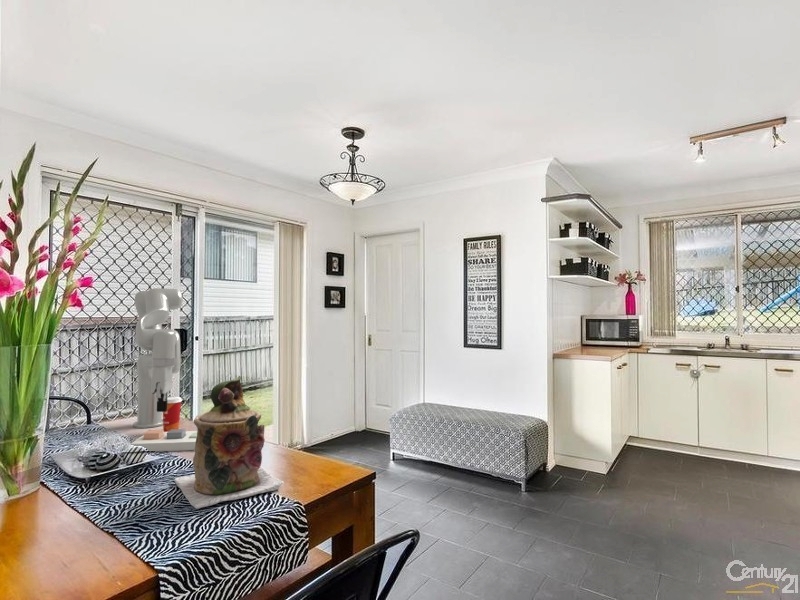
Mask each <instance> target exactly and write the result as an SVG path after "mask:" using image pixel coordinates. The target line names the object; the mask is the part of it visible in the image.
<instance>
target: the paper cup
mask: <svg viewBox="0 0 800 600" xmlns="http://www.w3.org/2000/svg"><path fill="white" fill-rule="evenodd" d="M182 402H183V400H182V397H180V396H171V397H170V396H168V399H167V411H165V412H162V419H163V425H162V427H163V429H162V430H164V432H169V431H170V430H171V429H180V428H179V427H180V419H181V407H182Z"/></svg>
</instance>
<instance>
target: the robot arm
mask: <svg viewBox="0 0 800 600" xmlns="http://www.w3.org/2000/svg"><path fill="white" fill-rule="evenodd" d="M182 304H183V295H182V292H181V291H180V290H179V289H177V288H161V287H160V288H159V287H157V288H156V287H155V288H151V289H150V288H149V290H140V291H138V292H136V294H135V295H134V307H135V310H136V313H137V315H138V320H137V323H136V326H135V342H136V345H137V346H138V348H140V349H142V350H143V351H147V352H152V353H145V354H142V355H140V356H138V358H137V359H136V370H137V379H138V380H137V383H138V384H137V388H138V389H137V416H136V417H137V421H134V422H133V423H132V427H133V428H136V429H147V428H148V429H149V428H150V429H151V428H156V427H161V426H163V412H165V411H167V399H168V397H169V392H170V391H172V388H173V375H174V374H177V373H179V372H180V370H181V365H182V364H181V363H182V361H181V360H182V359H181V337H180V334H179V332H178V331H177V330H175V329H172V328H171V329H170V328H163V329H162V327H163V326H162V324H163V323H164V322H166V321H167V320H168V319H169V317H170V314H171V313H170V310H171V311H172V310H174V311H175V310H177V309H180V308H181V307H182Z"/></svg>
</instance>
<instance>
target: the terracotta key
mask: <svg viewBox="0 0 800 600" xmlns="http://www.w3.org/2000/svg"><path fill="white" fill-rule="evenodd" d="M143 435H144V440H154V439H160V438H161V437H163V435H164V430H163V429H148V430H147V431H146V432H144V433H143Z"/></svg>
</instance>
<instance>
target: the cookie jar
mask: <svg viewBox="0 0 800 600" xmlns="http://www.w3.org/2000/svg"><path fill="white" fill-rule="evenodd" d="M241 380H242V375H241V374H240V375H239V376H238V377H237V378H236V379H230V380H225V381H222V382H219V383H218V384H216V385H214V387H213V388H212V389H211V392H210V399H211V402H212V403H213V407H212V408H211V409H210V410H209V411H207V412H203V413H200V414H198V415H196V416H195V418H194V420H193V424H194V426H196V429H197V430H196V431H197V438H196V443H195V450H194V456H193V459H192V466H193V470H194V474H191V475H185V476H180V477H174V483H175V484H176V486H177V488H179V489H180V490H181V492H182V494H183V495H184V497H185V498H186V500H187V501H188V503H189V504H190V505H191V506H192V507H193V508H194V509H196V510H199V509H201V508H205V507H206V508H207V507H210V506H213V505H217V504H218V503H221V502H227V501H235V500H239V499H243V498H249V497H251V496H257V495H258V494H264V493H267V492H272V491H273V492H274V491H277V490H279V489H280V488H281V487H282V485H283V484H284V481H283V480H281V479H279V478H277V477H274V476H273V475H271V473H268V472H267V470H265V468H263V467H261V465H262V461H263V453H262V450H263V448H264V446H265V424H263V423H262V424H259V421H260V420H261V418H262V414H261V413H260V412H258V411H256V410H253V409H252V408H251V407H249V405H247V404H246V403H245V400H244V391H243V388H242V387H243V386H242V383H241Z"/></svg>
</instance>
